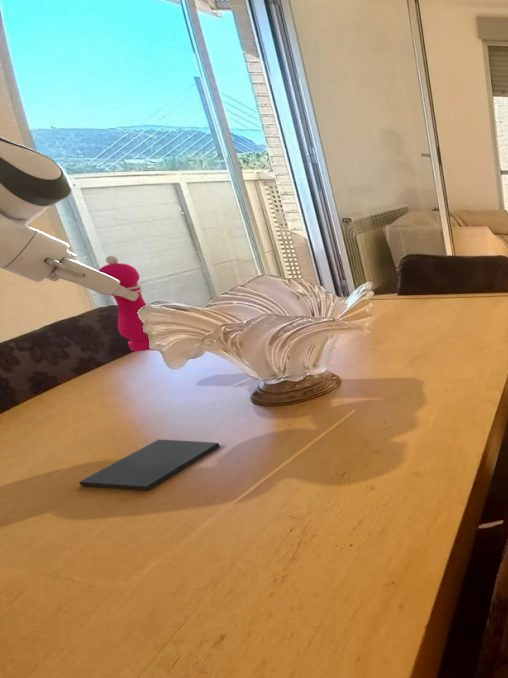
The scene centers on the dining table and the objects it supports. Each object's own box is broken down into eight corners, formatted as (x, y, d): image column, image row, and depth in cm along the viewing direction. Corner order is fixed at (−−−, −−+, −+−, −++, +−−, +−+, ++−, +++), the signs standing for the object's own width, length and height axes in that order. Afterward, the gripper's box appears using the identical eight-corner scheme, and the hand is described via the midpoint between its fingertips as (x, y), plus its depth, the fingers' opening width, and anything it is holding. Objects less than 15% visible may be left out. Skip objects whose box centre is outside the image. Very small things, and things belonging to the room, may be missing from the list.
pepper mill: (119, 351, 103) (75, 259, 95) (156, 340, 109) (118, 252, 102) (143, 353, 101) (101, 259, 93) (180, 341, 108) (142, 253, 100)
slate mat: (81, 486, 73) (78, 481, 72) (160, 443, 84) (158, 439, 83) (148, 491, 71) (146, 486, 71) (220, 446, 82) (218, 442, 82)
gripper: (64, 247, 85) (156, 288, 97) (43, 241, 96) (128, 279, 107) (39, 276, 84) (136, 315, 95) (21, 267, 95) (110, 302, 106)
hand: (132, 296), depth 101 cm, fingers closed on pepper mill, 5 cm apart
